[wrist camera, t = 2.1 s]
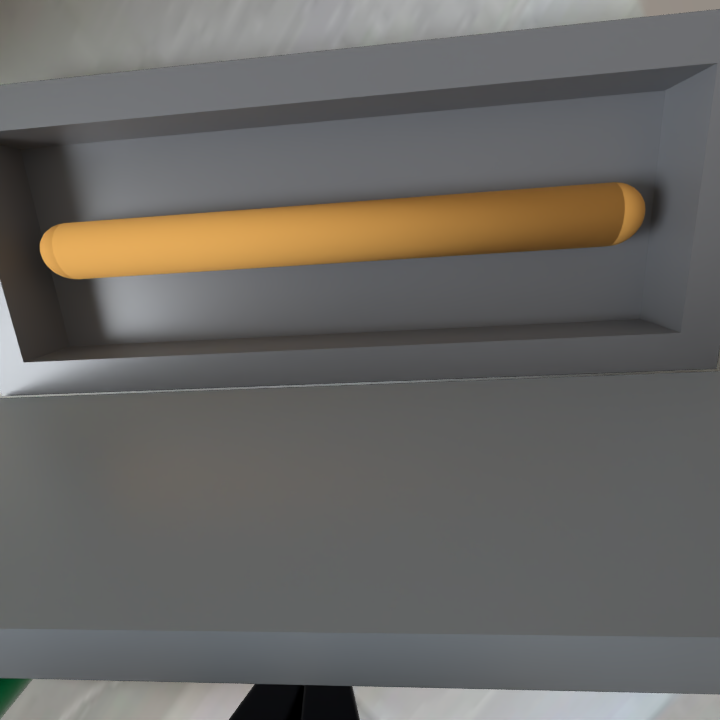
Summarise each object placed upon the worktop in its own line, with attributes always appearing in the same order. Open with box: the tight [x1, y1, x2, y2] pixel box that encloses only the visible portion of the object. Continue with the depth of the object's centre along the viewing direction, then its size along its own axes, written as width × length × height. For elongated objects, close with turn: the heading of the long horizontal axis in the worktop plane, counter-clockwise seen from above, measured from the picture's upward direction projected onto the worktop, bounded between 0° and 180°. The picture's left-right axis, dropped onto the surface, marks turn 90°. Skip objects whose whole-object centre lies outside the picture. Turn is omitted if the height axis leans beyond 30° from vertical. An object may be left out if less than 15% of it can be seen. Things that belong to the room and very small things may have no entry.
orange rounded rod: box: [40, 182, 645, 279], centre depth 12 cm, size 17×2×2 cm, turn 94°
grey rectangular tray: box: [0, 9, 720, 396], centre depth 12 cm, size 20×8×2 cm, turn 94°
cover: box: [0, 371, 720, 694], centre depth 9 cm, size 20×8×1 cm
